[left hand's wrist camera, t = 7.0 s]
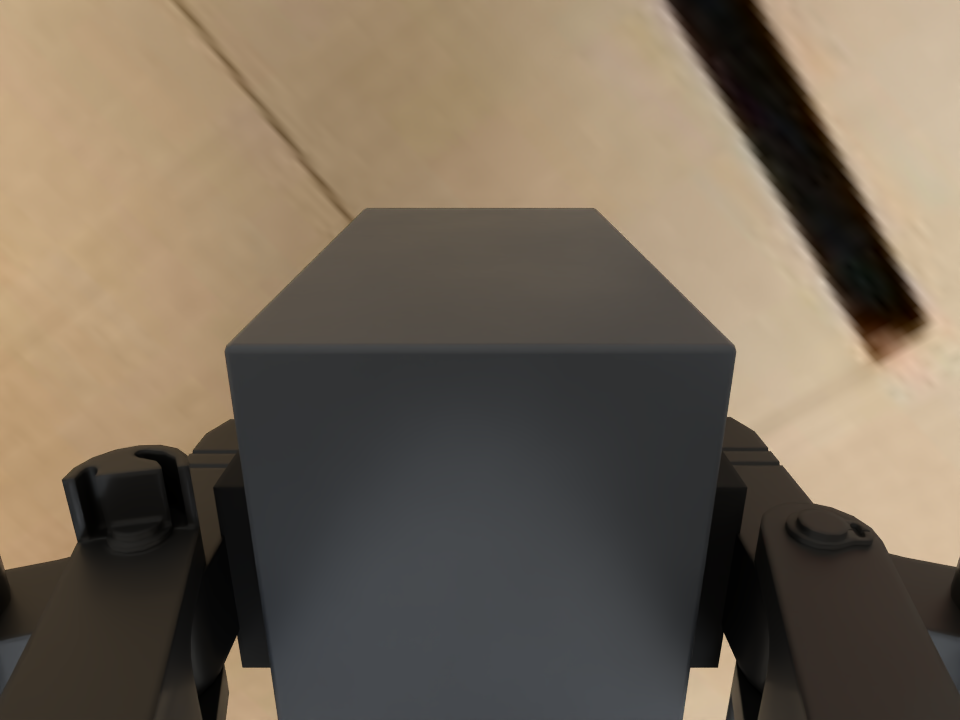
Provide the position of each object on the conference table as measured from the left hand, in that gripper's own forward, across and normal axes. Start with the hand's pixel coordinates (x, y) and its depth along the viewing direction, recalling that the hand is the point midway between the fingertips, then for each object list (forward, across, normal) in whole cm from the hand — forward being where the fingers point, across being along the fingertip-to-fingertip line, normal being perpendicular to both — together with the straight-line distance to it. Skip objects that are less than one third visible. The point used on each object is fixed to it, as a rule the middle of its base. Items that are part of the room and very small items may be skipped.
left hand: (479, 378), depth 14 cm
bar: (+1, 0, -9) cm, 9 cm away
